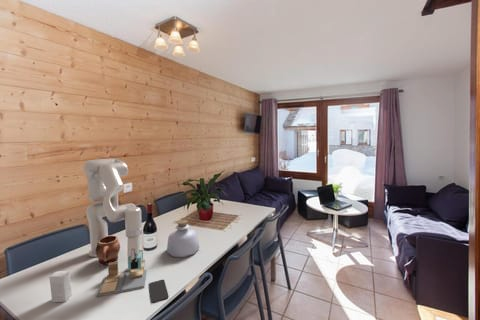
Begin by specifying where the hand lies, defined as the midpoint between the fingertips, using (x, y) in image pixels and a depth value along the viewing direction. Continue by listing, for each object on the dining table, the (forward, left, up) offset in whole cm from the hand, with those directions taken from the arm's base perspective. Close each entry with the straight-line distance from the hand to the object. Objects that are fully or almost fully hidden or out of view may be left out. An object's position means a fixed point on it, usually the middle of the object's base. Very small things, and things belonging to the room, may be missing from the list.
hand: (135, 264), depth 118 cm
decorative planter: (-19, -17, -6) cm, 26 cm away
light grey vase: (-20, +25, -7) cm, 33 cm away
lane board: (+4, -5, -6) cm, 9 cm away
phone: (+16, +11, -7) cm, 21 cm away
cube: (0, 0, -1) cm, 1 cm away
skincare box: (+8, -30, -6) cm, 31 cm away
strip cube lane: (-4, 0, -5) cm, 6 cm away
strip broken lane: (+1, -11, -5) cm, 12 cm away
